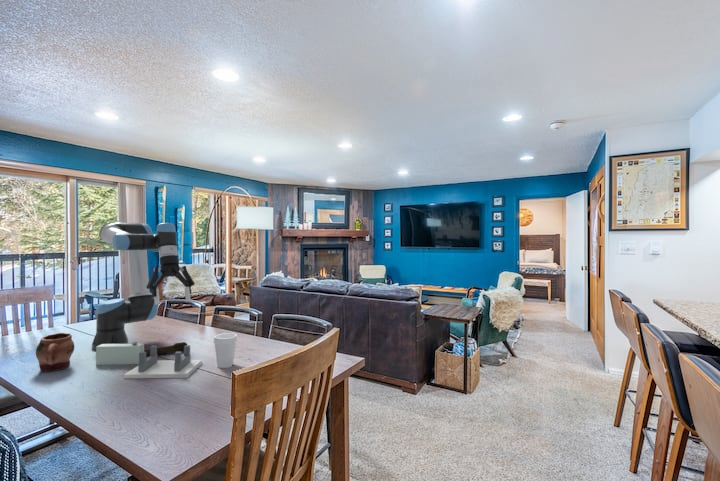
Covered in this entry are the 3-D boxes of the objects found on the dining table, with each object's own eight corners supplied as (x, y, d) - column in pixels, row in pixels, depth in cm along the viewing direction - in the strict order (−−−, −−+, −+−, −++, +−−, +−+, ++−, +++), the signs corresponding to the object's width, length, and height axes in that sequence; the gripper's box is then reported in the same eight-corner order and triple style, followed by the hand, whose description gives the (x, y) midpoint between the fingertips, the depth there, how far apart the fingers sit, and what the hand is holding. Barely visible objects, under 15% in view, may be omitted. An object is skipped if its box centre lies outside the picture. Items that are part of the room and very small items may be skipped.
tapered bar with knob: (101, 361, 156) (102, 341, 156) (144, 361, 158) (144, 341, 158) (95, 365, 152) (96, 344, 152) (139, 364, 154) (139, 343, 154)
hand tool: (143, 359, 161) (143, 349, 160) (143, 356, 164) (143, 346, 164) (188, 352, 170) (188, 343, 170) (187, 350, 174) (188, 341, 174)
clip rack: (146, 363, 154) (146, 343, 154) (202, 363, 155) (202, 343, 155) (124, 378, 138) (124, 355, 138) (186, 377, 139) (187, 355, 139)
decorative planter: (72, 373, 142) (72, 339, 142) (31, 380, 135) (31, 344, 135) (75, 359, 158) (76, 328, 158) (39, 364, 151) (39, 332, 151)
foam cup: (241, 363, 156) (241, 334, 156) (226, 370, 147) (227, 339, 147) (223, 360, 159) (224, 332, 159) (208, 367, 150) (209, 337, 150)
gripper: (143, 254, 147) (147, 304, 143) (199, 254, 168) (204, 298, 164) (135, 258, 151) (139, 307, 147) (190, 258, 172) (195, 301, 168)
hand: (173, 302), depth 155 cm, fingers open, 13 cm apart
